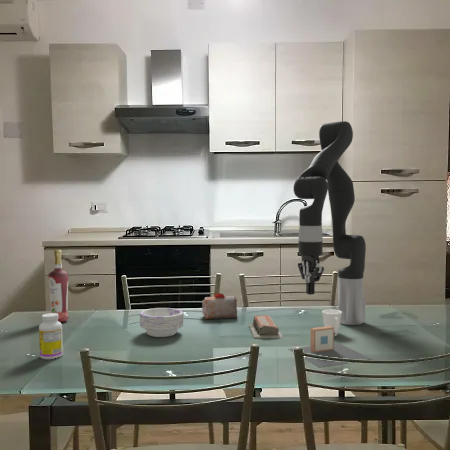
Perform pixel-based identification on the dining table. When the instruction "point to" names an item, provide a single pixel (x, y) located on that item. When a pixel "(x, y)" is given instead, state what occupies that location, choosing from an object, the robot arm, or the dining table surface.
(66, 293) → the liquor
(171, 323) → the paper bowls
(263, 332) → the packaged product
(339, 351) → the mat
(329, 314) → the cup
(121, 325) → the dining table surface
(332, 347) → the tile
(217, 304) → the food item
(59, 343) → the supplement bottle
